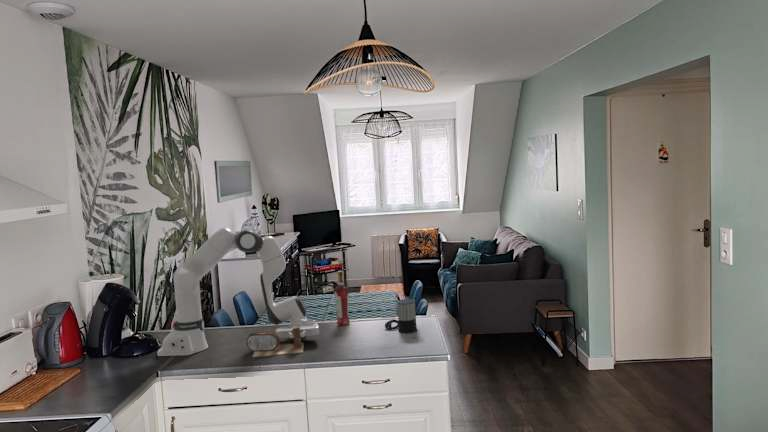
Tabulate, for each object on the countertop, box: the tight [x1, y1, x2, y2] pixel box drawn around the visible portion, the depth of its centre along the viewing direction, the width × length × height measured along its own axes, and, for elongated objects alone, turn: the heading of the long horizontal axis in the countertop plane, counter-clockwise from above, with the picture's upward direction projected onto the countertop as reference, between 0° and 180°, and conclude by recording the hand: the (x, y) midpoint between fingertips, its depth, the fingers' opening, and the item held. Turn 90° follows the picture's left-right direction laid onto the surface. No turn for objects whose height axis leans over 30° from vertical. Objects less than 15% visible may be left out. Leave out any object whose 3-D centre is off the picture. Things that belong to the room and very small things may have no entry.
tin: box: [245, 331, 281, 352], centre depth 260 cm, size 15×3×8 cm, turn 84°
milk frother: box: [384, 298, 418, 334], centre depth 282 cm, size 14×16×15 cm
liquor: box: [333, 270, 351, 327], centre depth 297 cm, size 7×7×28 cm
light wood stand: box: [252, 326, 305, 358], centre depth 261 cm, size 22×14×10 cm, turn 96°
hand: (296, 336), depth 261 cm, fingers closed on light wood stand, 3 cm apart
